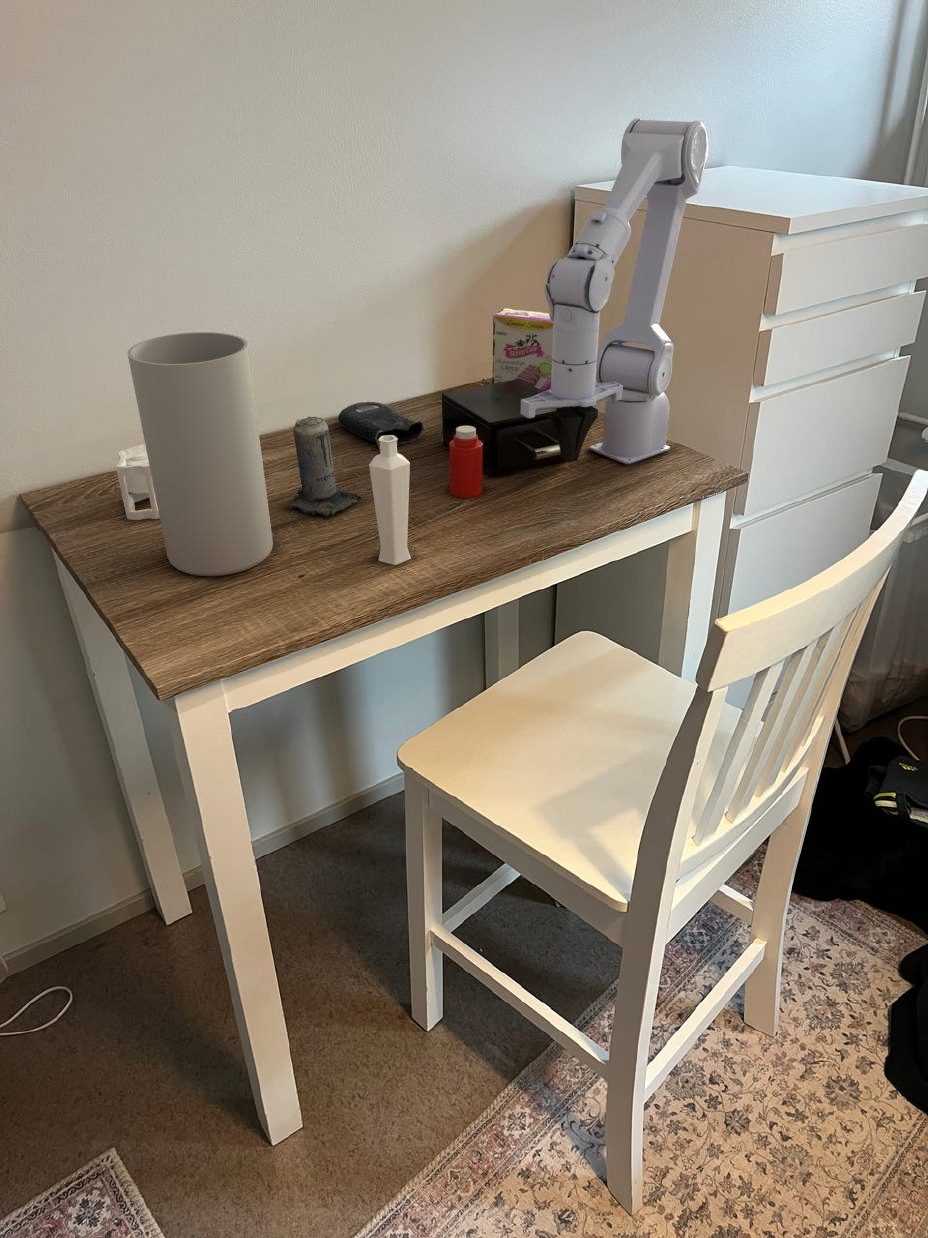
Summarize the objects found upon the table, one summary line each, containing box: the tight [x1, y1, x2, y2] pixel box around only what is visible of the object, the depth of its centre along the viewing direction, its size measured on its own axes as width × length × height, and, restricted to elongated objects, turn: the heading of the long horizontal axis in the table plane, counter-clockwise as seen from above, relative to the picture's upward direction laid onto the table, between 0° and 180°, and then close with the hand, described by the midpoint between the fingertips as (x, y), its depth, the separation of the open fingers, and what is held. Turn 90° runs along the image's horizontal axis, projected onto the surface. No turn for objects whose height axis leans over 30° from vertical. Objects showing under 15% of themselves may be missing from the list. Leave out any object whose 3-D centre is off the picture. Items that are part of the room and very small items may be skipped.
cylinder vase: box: [127, 331, 274, 577], centre depth 108 cm, size 12×12×25 cm
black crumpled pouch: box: [337, 401, 425, 450], centre depth 149 cm, size 9×6×15 cm
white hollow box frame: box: [115, 443, 160, 521], centre depth 128 cm, size 20×11×7 cm, turn 123°
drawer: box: [493, 416, 562, 473], centre depth 137 cm, size 18×12×6 cm
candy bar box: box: [491, 308, 553, 392], centre depth 151 cm, size 11×5×16 cm, turn 66°
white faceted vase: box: [368, 435, 412, 566], centre depth 110 cm, size 5×4×15 cm
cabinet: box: [441, 379, 565, 478], centre depth 140 cm, size 15×14×8 cm
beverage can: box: [287, 415, 363, 518], centre depth 123 cm, size 9×8×12 cm
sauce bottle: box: [449, 426, 483, 499], centre depth 128 cm, size 4×4×9 cm
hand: (569, 459), depth 127 cm, fingers closed
